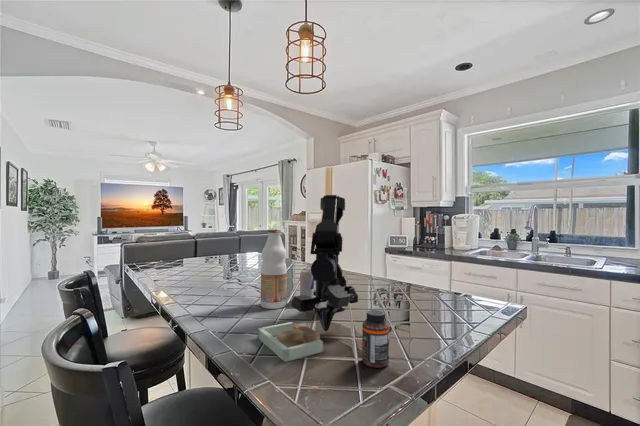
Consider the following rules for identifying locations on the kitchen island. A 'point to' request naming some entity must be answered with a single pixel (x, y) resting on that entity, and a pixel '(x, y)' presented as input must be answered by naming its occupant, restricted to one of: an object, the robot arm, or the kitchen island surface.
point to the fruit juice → (273, 272)
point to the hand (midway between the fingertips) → (325, 330)
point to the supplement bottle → (375, 340)
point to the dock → (281, 350)
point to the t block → (298, 335)
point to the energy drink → (306, 283)
